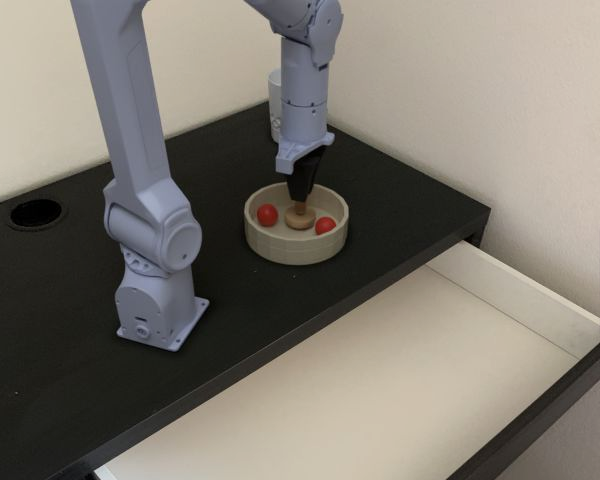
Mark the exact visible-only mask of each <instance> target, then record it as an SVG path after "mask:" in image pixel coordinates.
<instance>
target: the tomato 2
mask: <svg viewBox="0 0 600 480" xmlns="http://www.w3.org/2000/svg"><path fill="white" fill-rule="evenodd" d="M335 227H336V223H335V221H334V220H333V219H332V218H330V217H322V218H320V219H319V220H318V221H317V222H316V224H315V232H316V234H317V235H321V234H324V233H326V232H329V231H331V230H332V229H334V228H335Z"/></svg>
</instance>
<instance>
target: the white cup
mask: <svg viewBox="0 0 600 480" xmlns="http://www.w3.org/2000/svg"><path fill="white" fill-rule="evenodd" d="M267 88H268V89H267V90H268V91H267V93H268V108H269V119H270V120H269V121H270V131H271V138H272V140H273V141H274V142H275V143H277V144H278V145H279V129H280V128H281V66H280V67H276V68H274V69H272V70H270V71H269V72H268V74H267Z"/></svg>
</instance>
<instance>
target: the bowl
mask: <svg viewBox="0 0 600 480" xmlns="http://www.w3.org/2000/svg"><path fill="white" fill-rule="evenodd" d="M263 204H271V205H273V206H274V207H275V208H276V209H277V211H278V219H277V221H276V222H275V223H274V224H273V225H270V226H265V225H262V224H261V223H260V222H259V221H258V219H257V211H258V209H259V207H260V206H262V205H263ZM292 206H295V201H294V200H291V198H290V194H289V190H288V186H287V182H286V181H283V182H277V183H273V184H270V185H266V186H264V187H261V188H260V189H258V190H256V191H255V192H254V193H252V194H251V195H250V196H249V197H248V199H247V200H246V201H245V203H244V210H243V220H244V235H245V240H246V242H247V244H248V246H249V247H250V248H251V250H252V251H253V252H255V253H256V254H257V255H259V256H260V257H261V258H264V259H266V260H269V261H271V262H274V263H277V264H282V265H289V266H306V265H312V264H317V263H321V262H324V261H326V260H328V259H331V258H332V257H334V256H336V254H339V252H340V251H341V250H342V249H343V247H344V246H345V243H346V241H347V237H348V229H349V228H348V226H349V216H350V215H349V213H350V212H349V206H348V204H347V202H346V201H345V199H344V197H342V196H341V195H340V194H338V193H337V192H336V191H335V190H333V189H330V188H328V187H326V186H323V185H321V184H317V183H314V186H313V189H312V192H311V194H308V197H307V203H306V206H308V207H310V208H312V209H313V210H314V211H315V212H316V221H315V223H314V224H313V225H312V226H311V227H308V228H302V229H299V228H293V227H291V226H289V225H288V224H287V223H286V222H285V212H286V210H287V209H288V208H290V207H292ZM322 217H330V218H332V219H333V220H334V221H335V223H336V227H335V228H334V229H332V230H331V231H329V232H326V233H324V234H321V235H317V234H316V232H315V224H316V222H317V221H318V220H319V219H320V218H322Z"/></svg>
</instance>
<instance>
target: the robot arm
mask: <svg viewBox="0 0 600 480" xmlns="http://www.w3.org/2000/svg"><path fill="white" fill-rule="evenodd" d="M149 1H151V0H69V2H70V7H71V11H72V14H73V17H74V21H75V26H76V29H77V34H78V37H79V41H80V45H81V49H82V53H83V57H84V61H85V65H86V69H87V73H88V76H89V80H90V85H91V88H92V93H93V96H94V100H95V105H96V108H97V112H98V117H99V121H100V124H101V128H102V132H103V136H104V141H105V143H106V148H107V152H108V155H109V160H110V163H111V167H112V171H113V172H112V173H113V176H114V178H113V179H112V180H110V181H109V182H108V183H107V185H106V186H105V187H104V188H103V190H102V193H103V196H104V201H105V207H104V214H103V225H104V229H105V231H106V234H107V235H108V236H109V238H111V239H112V240H114V241H115V242H117V243H118V244H119V248H120V252H121V253H122V254H123V257H124V264H125V265H124V267H125V268H124V274H123V278H122V280H121V283H120V285H119V286H118V288H117V289H116V291H115V294H114V302H115V306H116V310H117V315H118V319H119V323H120V326H119V328H118V329H117V331H116V335H117V337H119V338H123V339H125V340H126V339H127V340H130V341H134V342H138V343H141V344H144V345H148V346H151V347H152V346H153V347H155V348H160V349H163V350H167V351H170V352H177V351H179V350H180V348H181V347H182V345H183V344H184V343H185V342H186V339H187V338H188V336H189V335H190V333H192V331H193V329H194V327H196V324H198V323H199V320H200V319H201V318H202V316H203V314H204V313H205V312H206V311H207V309H208V308H209V306H210V301H209V300H208V299H206V298H202V297H198V296H195V287H194V279H193V272H192V264H193V262H194V261H195V260H196V258H197V256H198V254H199V253H200V250H201V246H202V243H203V232H202V231H203V230H202V226H201V225H200V223H199V222H198V220H197V219H196V218H195V217H194V214H193V211H192V206H191V203H190V201H189V200H188V198H187V197H186V195H185V194H184V193H183V191H182V190H181V189H180V188H179V186H178V185H177V184H176V182H175V181H174V179H173V178H172V175H171V170H170V164H169V159H168V158H169V157H168V154H167V153H168V152H167V147H166V143H165V136H164V130H163V125H162V120H161V114H160V109H159V108H160V107H159V104H158V103H159V102H158V98H157V97H158V96H157V91H156V86H155V81H154V75H153V70H152V64H151V59H150V53H149V52H150V51H149V48H148V42H147V37H146V31H145V26H144V20H143V10H144V8H145V6H147V4H148V2H149ZM243 2H245V4H247V5H248V6H250V7H251V8H252V9H253V10H255V11H256V12H257V13H258V14H260V15H261V16H262V17H264V18H265V19H266V20H267V21H268V22H269V27H270V29H271V31H272V33H273V34H275V35H278V36H281V37H280V67H281V128H280V129H279V144H278V148H277V149H276V151H275V154H274V155H275V156H274V157H275V158H274V159H275V172H276V173H280V174H283V176H284V179H285V182H287V186H288V190H289V194H290V198H291V200H294V201H298V202H303V203H305V202H306V200H307V197H308V194H311V192H312V189H313V186H314V184H316V178H317V176H318V175H317V174H318V170H319V167H320V164H321V161H322V159H323V157H324V154H325V153H326V151H327V149H328V147H329V146H331V145H332V144H333V143H334V141H335V134H334V133H333V132H329V131H328V127H327V123H328V113H329V111H328V110H329V109H328V96H329V95H328V94H329V81H330V80H329V78H330V63H331V61H333V59H334V56H335V53H336V43H337V39H338V37H339V35H340V33H341V30H342V26H343V21H344V17H345V16H344V15H345V14H344V13H342V6H341V4H340V1H339V0H243Z"/></svg>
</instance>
